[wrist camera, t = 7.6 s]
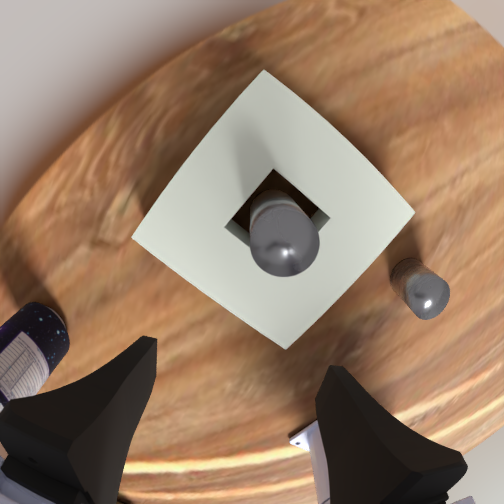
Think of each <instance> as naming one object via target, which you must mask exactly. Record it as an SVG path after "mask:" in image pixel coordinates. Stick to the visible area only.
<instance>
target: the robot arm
mask: <svg viewBox="0 0 504 504" xmlns="http://www.w3.org/2000/svg"><path fill="white" fill-rule="evenodd" d="M156 364H157V339H156V338H152V337H147V336H142V337H140V338H139V339H138V340H136V341H135V342H134V343H133V344H132V345H130V346H129V347H128V348H127V349H126V350H124V351H123V352H122V353H120V354H119V355H118V356H116V357H115V358H114V359H112V360H111V361H110V362H108V363H107V364H105V365H104V366H102V367H101V368H99V369H98V370H96V371H94V372H93V373H91V374H89V375H87V376H86V377H84V378H82V379H80V380H78V381H76V382H73V383H71V384H68V385H66V386H63V387H61V388H58V389H55V390H52V391H49V392H46V393H42V394H38V395H33V396H28V397H22V398H16V399H11V400H10V401H9V402H8V403H7V404H6V405H5V407H4V408H3V409H2V411H1V412H0V442H1V444H2V445H3V447H4V448H5V450H6V451H7V453H8V456H7V458H6V459H5V460H4V459H3V458H2V457H1V456H0V504H116V501H117V496H118V491H119V486H120V482H121V477H122V473H123V469H124V465H125V461H126V457H127V454H128V450H129V447H130V443H131V440H132V437H133V435H134V432H135V430H136V428H137V425H138V423H139V421H140V418H141V416H142V414H143V412H144V409H145V407H146V405H147V402H148V400H149V398H150V395H151V392H152V389H153V385H154V382H155V378H156ZM315 402H316V414H317V420H316V421H315V422H313V423H312V424H310V425H309V426H308V427H306V428H305V429H303V430H302V431H300V432H299V433H297V434H296V435H294V436H293V437H291V438H290V439H289V442H290V444H292V445H295V446H297V447H300V448H302V449H305V450H307V451H310V457H311V463H312V468H313V474H314V480H315V486H316V493H317V499H318V504H446V502H445V501H447V500H448V498H449V496H448V494H447V491H448V490H449V489H451V488H452V487H453V486H454V485H455V484H456V483H457V482H458V481H459V480H460V479H461V478H462V477H463V476H464V475H465V473H466V471H467V468H468V466H467V464H466V462H465V460H464V458H463V456H462V454H461V453H460V452H459V451H456V450H453V449H450V448H448V447H445V446H442V445H440V444H438V443H435V442H433V441H431V440H429V439H427V438H425V437H423V436H422V435H420V434H418V433H417V432H415V431H413V430H412V429H410V428H409V427H407V426H406V425H404V424H403V423H401V422H400V421H399V420H397V419H396V418H395V417H393V416H392V415H391V414H390V413H389V412H387V411H386V410H385V409H384V408H383V407H382V406H381V405H380V404H379V403H378V402H377V401H376V400H375V399H373V398H372V397H371V395H370V394H369V393H368V392H367V391H366V390H365V389H364V388H363V387H362V386H361V385H360V384H359V383H358V382H357V381H356V380H355V378H354V377H353V376H352V375H351V374H350V373H349V372H348V371H347V370H346V369H345V368H344V367H343V366H332V365H330V366H329V368H328V371H327V373H326V376H325V378H324V380H323V382H322V385H321V387H320V389H319V392H318V394H317V396H316V398H315ZM452 504H475V502H474V500H473V497H472V496H469V497H466V498H464V499H461V500H459V501H456V502H454V503H452Z"/></svg>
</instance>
